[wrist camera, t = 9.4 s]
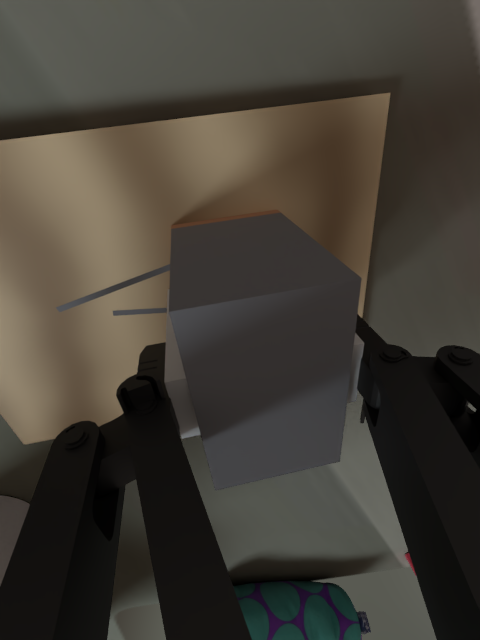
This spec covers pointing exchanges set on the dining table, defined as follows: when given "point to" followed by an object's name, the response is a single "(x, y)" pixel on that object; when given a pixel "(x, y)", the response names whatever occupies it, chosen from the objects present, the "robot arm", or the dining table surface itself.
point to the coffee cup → (10, 528)
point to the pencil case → (300, 611)
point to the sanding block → (263, 343)
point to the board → (155, 234)
